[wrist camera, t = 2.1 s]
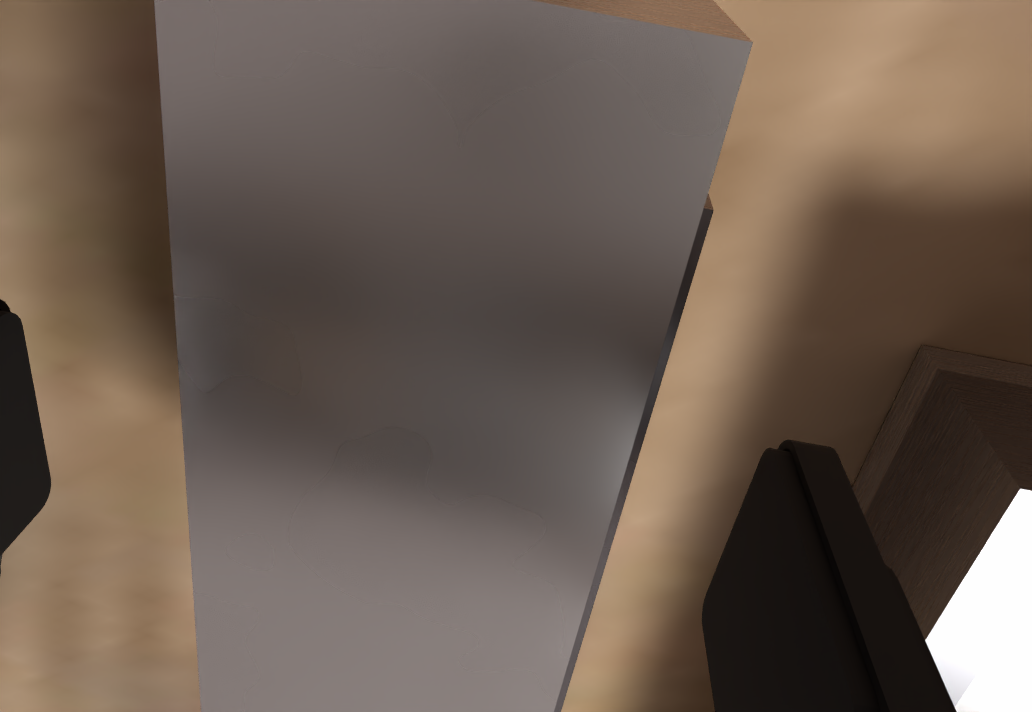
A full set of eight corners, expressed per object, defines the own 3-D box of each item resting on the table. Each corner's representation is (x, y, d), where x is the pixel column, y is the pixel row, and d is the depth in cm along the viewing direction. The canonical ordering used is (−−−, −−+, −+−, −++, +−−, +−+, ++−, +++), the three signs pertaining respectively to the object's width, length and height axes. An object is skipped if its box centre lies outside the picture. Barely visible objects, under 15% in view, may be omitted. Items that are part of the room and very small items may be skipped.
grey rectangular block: (697, -35, 11) (798, 50, 5) (545, 571, 17) (510, 933, 11) (397, -92, 11) (149, -73, 5) (350, 533, 17) (211, 874, 11)
